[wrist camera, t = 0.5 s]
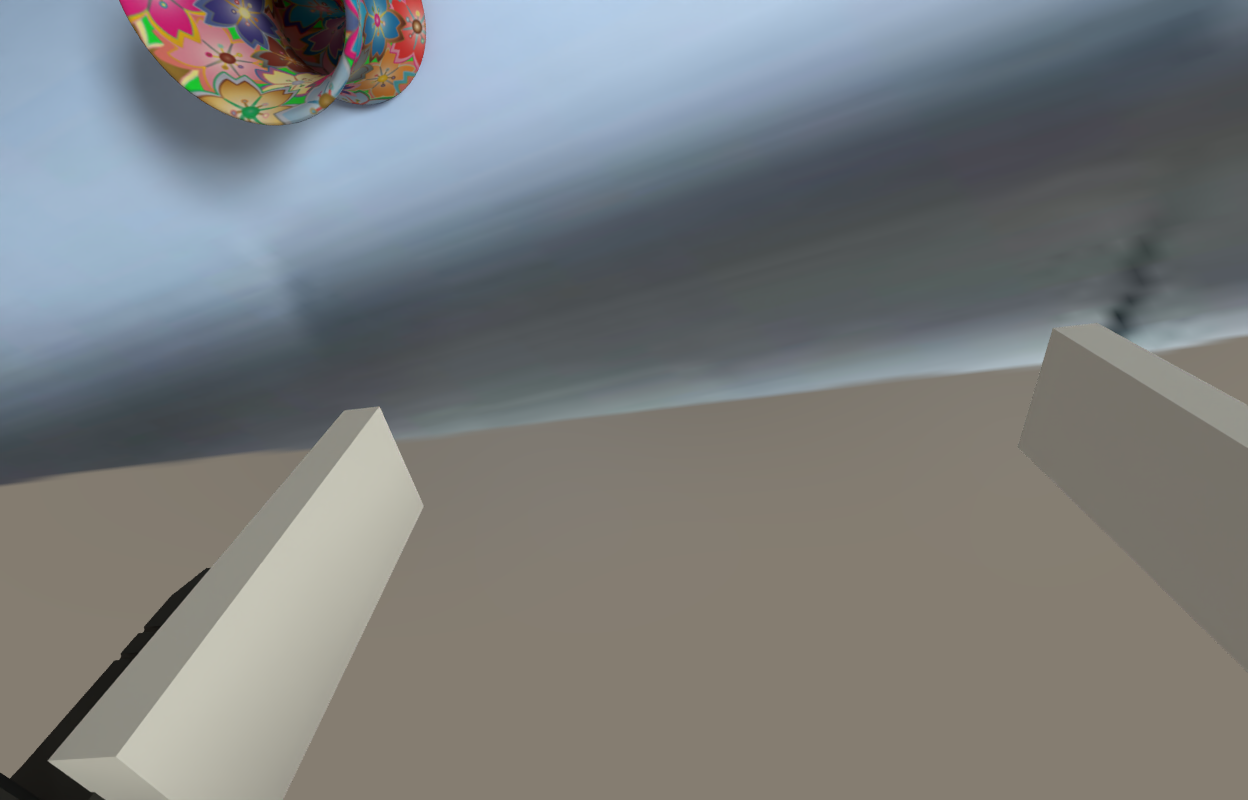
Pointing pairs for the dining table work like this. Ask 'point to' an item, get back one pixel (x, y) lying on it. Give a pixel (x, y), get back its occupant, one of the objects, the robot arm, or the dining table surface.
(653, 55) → the dining table surface
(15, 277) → the dining table surface
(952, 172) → the dining table surface
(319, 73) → the mug
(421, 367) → the dining table surface
